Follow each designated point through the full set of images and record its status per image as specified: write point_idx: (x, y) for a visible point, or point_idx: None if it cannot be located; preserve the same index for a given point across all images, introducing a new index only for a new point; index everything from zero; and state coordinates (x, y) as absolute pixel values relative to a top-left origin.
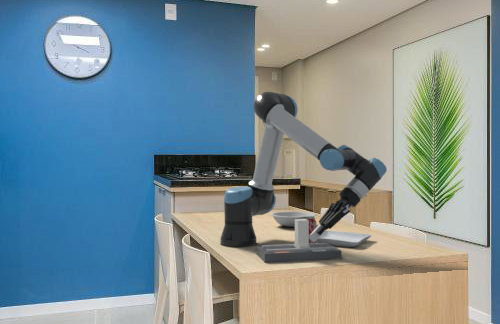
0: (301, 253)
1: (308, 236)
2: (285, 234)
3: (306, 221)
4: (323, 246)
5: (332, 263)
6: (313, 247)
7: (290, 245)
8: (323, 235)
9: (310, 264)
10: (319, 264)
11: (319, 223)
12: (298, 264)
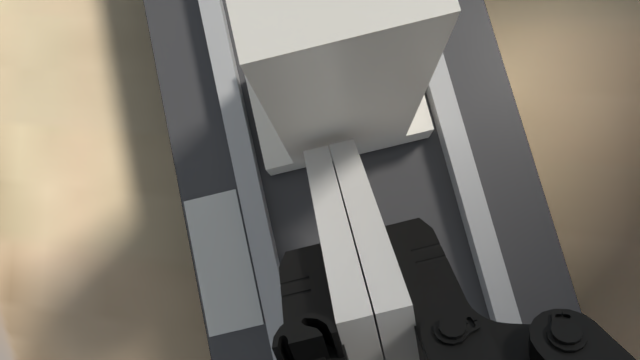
0: (165, 98)
1: (282, 139)
2: None
3: (232, 30)
4: None
5: (93, 355)
6: None
7: None
8: None
9: (69, 176)
10: (65, 245)
11: (456, 310)
12: (73, 88)
